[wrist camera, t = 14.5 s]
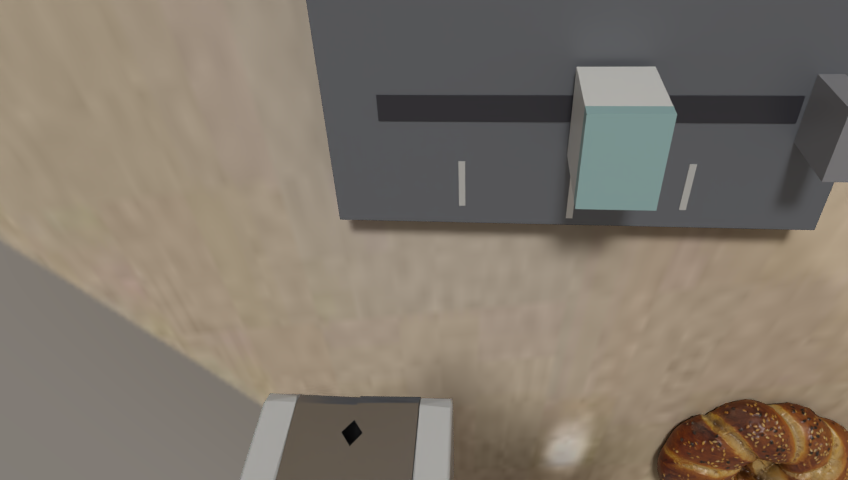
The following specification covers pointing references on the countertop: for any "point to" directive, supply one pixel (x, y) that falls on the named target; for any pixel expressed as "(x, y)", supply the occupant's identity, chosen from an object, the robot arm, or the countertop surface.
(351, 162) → the console
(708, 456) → the pretzel
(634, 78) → the fader
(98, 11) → the countertop surface
